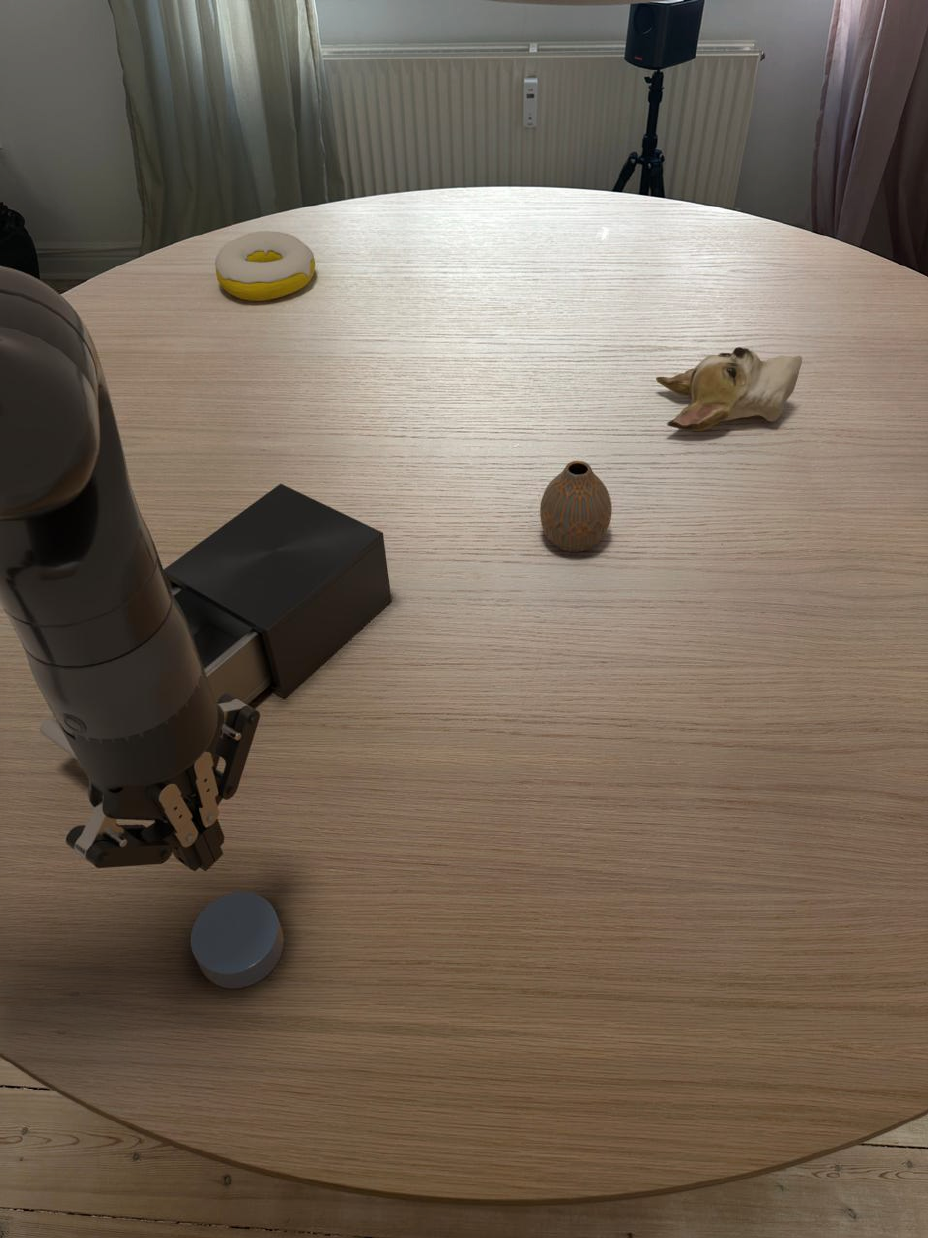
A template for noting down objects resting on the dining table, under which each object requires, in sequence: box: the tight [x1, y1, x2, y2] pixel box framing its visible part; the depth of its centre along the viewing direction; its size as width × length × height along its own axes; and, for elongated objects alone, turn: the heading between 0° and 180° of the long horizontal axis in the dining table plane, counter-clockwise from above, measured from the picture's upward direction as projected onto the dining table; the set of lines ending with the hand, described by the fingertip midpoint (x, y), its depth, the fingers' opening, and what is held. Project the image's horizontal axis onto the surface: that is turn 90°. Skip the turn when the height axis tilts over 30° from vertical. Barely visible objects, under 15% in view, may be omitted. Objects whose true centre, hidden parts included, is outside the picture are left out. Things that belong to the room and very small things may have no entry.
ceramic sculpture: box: [655, 346, 803, 432], centre depth 109 cm, size 11×9×15 cm
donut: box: [214, 230, 316, 302], centre depth 137 cm, size 14×14×5 cm
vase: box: [539, 460, 613, 553], centre depth 95 cm, size 7×7×9 cm
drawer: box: [39, 585, 274, 761], centre depth 81 cm, size 18×11×7 cm, turn 143°
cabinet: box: [163, 483, 392, 700], centre depth 89 cm, size 15×13×9 cm
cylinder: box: [190, 891, 285, 990], centre depth 68 cm, size 6×6×2 cm
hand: (203, 856), depth 62 cm, fingers closed
